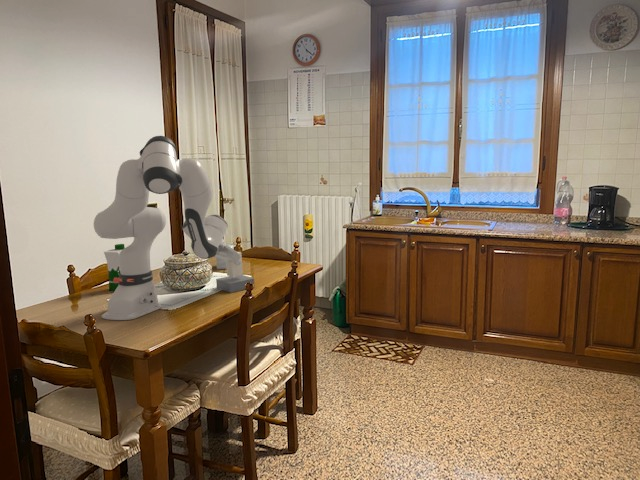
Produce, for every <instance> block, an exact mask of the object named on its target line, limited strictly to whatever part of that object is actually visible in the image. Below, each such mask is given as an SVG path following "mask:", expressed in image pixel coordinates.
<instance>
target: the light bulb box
mask: <svg viewBox="0 0 640 480" xmlns="http://www.w3.org/2000/svg"><path fill="white" fill-rule="evenodd" d="M225 245H226V244H225ZM226 246H229V247H231V248H233V249H234V244H230V245H229V244H227V245H226ZM234 250H235V249H234ZM215 261H216V262H215V263H216V270H227V266H226V260H224V259H220V258H217V257H215Z"/></svg>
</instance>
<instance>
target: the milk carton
mask: <svg viewBox="0 0 640 480" xmlns="http://www.w3.org/2000/svg"><path fill="white" fill-rule="evenodd" d="M124 248H126V246H125V244H124V243H118V244H114V248H112V249H108V250H105V251H103V254H104V257H105V260H106V265H107V274H108V291H110V292H115V290H116V289H117V287H118V285H119V284H118V283H114V281H113V279H114V278H115V277H116V278H119V275H120V264H119V254H120V252H121V251H122V250H123V249H124Z"/></svg>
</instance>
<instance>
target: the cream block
mask: <svg viewBox="0 0 640 480" xmlns="http://www.w3.org/2000/svg"><path fill="white" fill-rule="evenodd" d="M237 252H238V253H239V254H240V255H241V258H240V260H239V261H240V262H241V264H240V265H239V266H238V265H236V264H235V263H234V262H232V261H228V260H226V266H227V269H226V277H228V276H230V277H237V276H242V275H244V271H243V269H244V268H243V256H242V252H241V251H237Z"/></svg>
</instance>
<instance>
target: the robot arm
mask: <svg viewBox="0 0 640 480" xmlns="http://www.w3.org/2000/svg"><path fill="white" fill-rule="evenodd" d="M177 189H179V191H180V193H181V197H182V201H183V207H184V208H183V210H184V218H185V221H184V222H183V224H182V227H181V229H182V231H183V233H184V234H185V235H186V236H187V237H188V238H189V239H190V240H191V244H190V247H191V251H192V253H193V254H194V255H195V256H197V257H198V258H199V259H203V260H206V259H211V258H216V257H217V258H220V259H224V260H228V261H232V262H234V263H235V264H236V265H238V266H239V265H240V264H241V262H240V261H239V260H240V258H241V255H240V254H239V253H238V252H239V251H236V250H235V249H233V248H231V247H229V246H226V244H225V240H224V237H225V235H226V233H227V230H228V227H229V226H228V223H227V221H226V220H225V219H224V218H223V217H222V216H220V215H219V214H210V215H208V216H207V212H208V209H209V207H210V205H211V202H212V199H213V197H214V193H213V186H212V183H211V180H210V178H209V175H208V173H207V171H206V169H205V168H204V167H203V166H202V163H200V161H199V160H197V159H196V158H193V157H192V158H191V157H186V158H183V159H178V157H177V148H176V145H175V143H174V141H173V140H172V139H171V138H169V137H168V136H164V135H155V136H153V137H151V138H150V139H148V141H147V142H146V143H145V145H144V147H142V148H141V150H140V151H139V158H137V159H132V158H131V159H128V160H125V161H123V162H122V164H120V166H119V169H118V171H117V177H116V183H115V197H114V200H113V202H112V203H111V204H110V205H109V206H108V207H107V208H105V209H104V210H102V211H100V212H97V214H96V215H95V217H94V220H93V230H94V232H95V234H97V236H98V237H99V238H101V239H110V240H117V239H127V238H133V241H132V243H131V244H129V245H127V246H125V248H124V249H123V250H122V251H121V252H120V254H119V264H120V275H119V278H116V277H115V278H114V279H113V281H114V283H118V284H119V285H118V287H117V289H116V290H115V291H113V293H112V295H111V296H110V298H109V299H108V301H107V311H105V312H104V313H103V314H101V318H102V319H104V320H109V321H127V320H135V319H137V318H140V317H142V316H145V315H147V314H150V313H152V312H155V311H157V310H160V309H161V308H162V305H161V304H160V303H159V298H158V293H157V289H156V286H155V284H154V283H153V279H154V276H153V275H154V274H153V270H152V269H151V249H152V245H153V243H154V241H155V239H156V238H157V237H158V236H159V235H160V233H162V232H163V230H164V229H165V228H166V223H167V220H166V216H165V213H164V212H163V210H161V209H160V208H159V207H153V206H152V207H150V206H148V204H149V197H150V192H151V193H152V194H157V195H163V194H168V193H171V192H173V191H176V190H177Z"/></svg>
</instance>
